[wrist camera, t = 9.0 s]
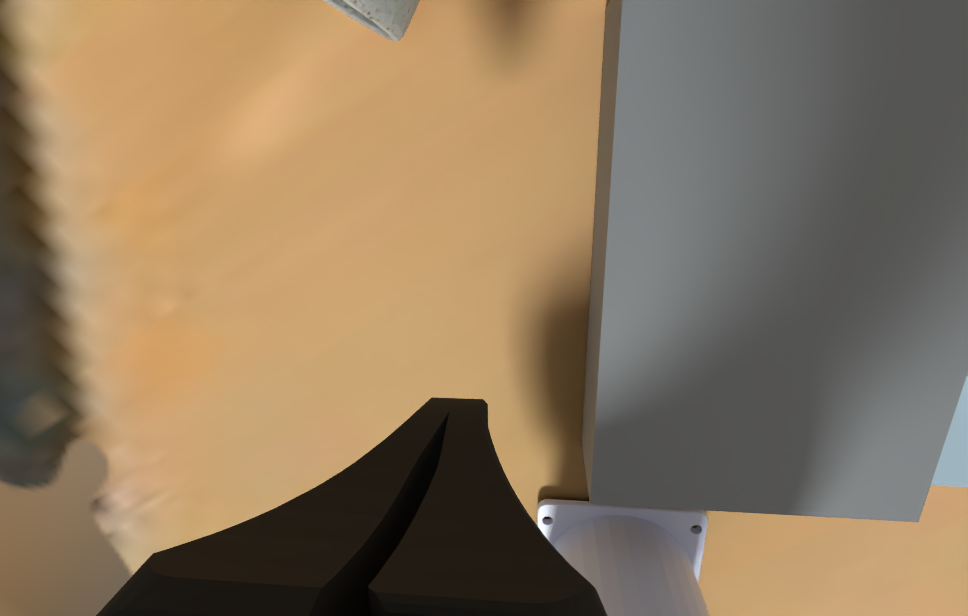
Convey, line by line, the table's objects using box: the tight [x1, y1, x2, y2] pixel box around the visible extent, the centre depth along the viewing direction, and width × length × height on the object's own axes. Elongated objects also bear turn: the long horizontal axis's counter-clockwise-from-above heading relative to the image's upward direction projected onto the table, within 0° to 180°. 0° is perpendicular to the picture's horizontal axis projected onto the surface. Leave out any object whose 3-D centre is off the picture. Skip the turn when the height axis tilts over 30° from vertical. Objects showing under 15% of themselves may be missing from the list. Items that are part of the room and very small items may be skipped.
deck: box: [582, 0, 968, 522], centre depth 18 cm, size 18×12×4 cm, turn 1°
